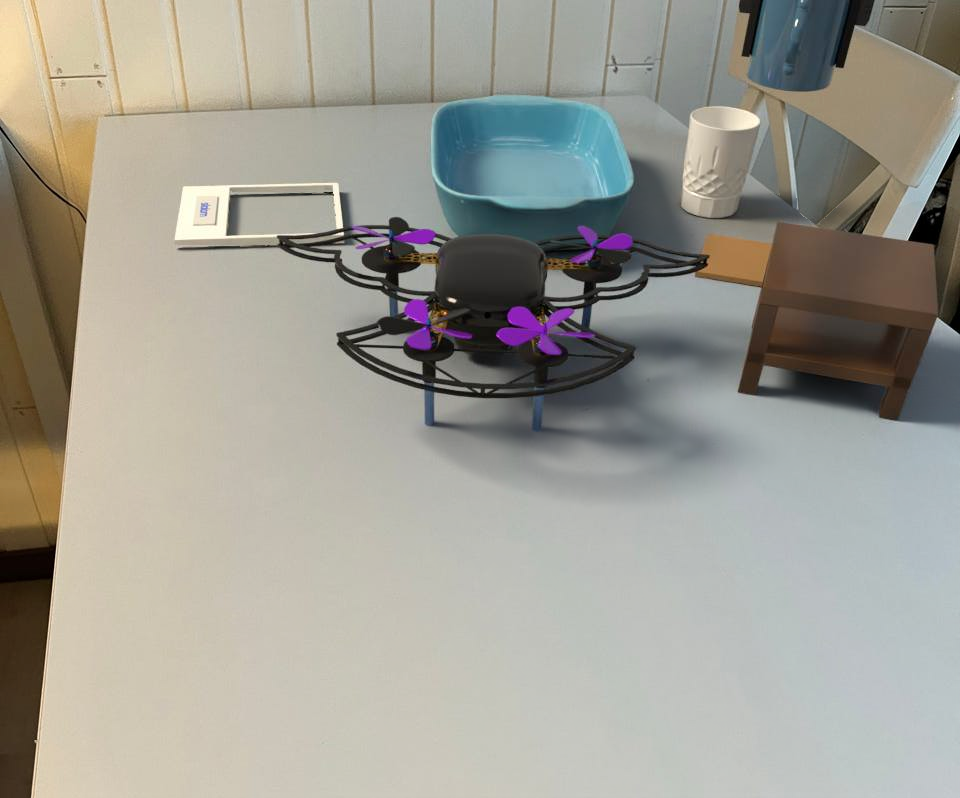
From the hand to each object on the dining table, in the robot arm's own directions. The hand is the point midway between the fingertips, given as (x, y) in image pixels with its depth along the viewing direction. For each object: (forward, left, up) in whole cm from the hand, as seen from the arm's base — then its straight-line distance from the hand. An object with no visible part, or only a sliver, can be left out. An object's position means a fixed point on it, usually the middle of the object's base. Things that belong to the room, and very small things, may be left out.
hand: (792, 58), depth 94 cm
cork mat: (0, 0, -20) cm, 20 cm away
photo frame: (+54, +8, -20) cm, 58 cm away
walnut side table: (-9, +20, -20) cm, 30 cm away
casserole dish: (+27, -7, -20) cm, 34 cm away
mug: (0, +2, -2) cm, 2 cm away
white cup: (+6, -14, -20) cm, 25 cm away
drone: (+20, +33, -20) cm, 44 cm away
